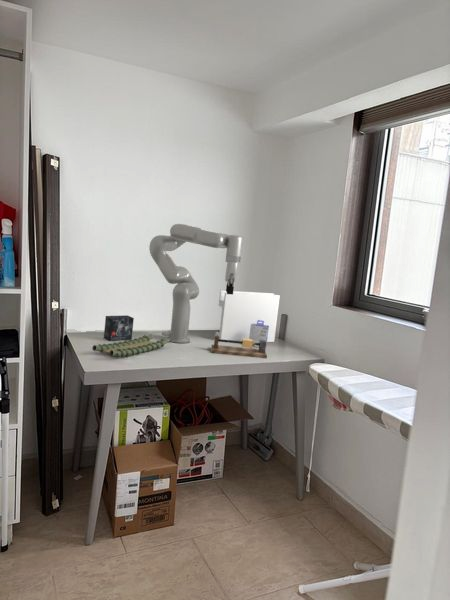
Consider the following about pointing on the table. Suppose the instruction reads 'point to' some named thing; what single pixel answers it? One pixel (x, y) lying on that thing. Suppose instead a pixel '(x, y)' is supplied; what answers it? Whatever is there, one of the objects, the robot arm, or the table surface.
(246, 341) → the sleeve
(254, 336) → the ink cartridge box
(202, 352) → the table surface
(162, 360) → the table surface
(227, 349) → the cord board
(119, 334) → the small box
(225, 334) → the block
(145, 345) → the olive green bumpy strip
